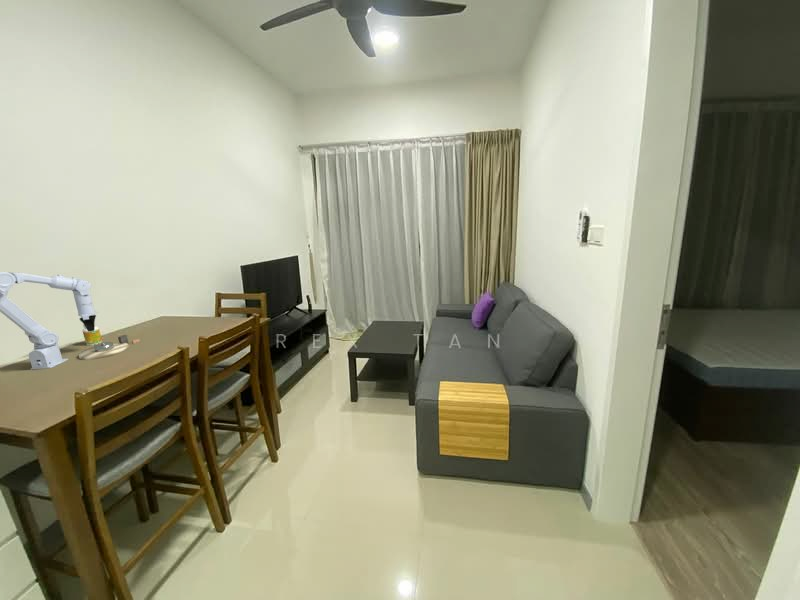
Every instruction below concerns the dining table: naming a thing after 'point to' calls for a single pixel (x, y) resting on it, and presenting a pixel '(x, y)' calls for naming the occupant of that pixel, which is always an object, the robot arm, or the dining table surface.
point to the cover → (103, 346)
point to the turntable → (117, 349)
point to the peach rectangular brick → (135, 340)
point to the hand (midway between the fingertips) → (91, 330)
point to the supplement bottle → (92, 336)
